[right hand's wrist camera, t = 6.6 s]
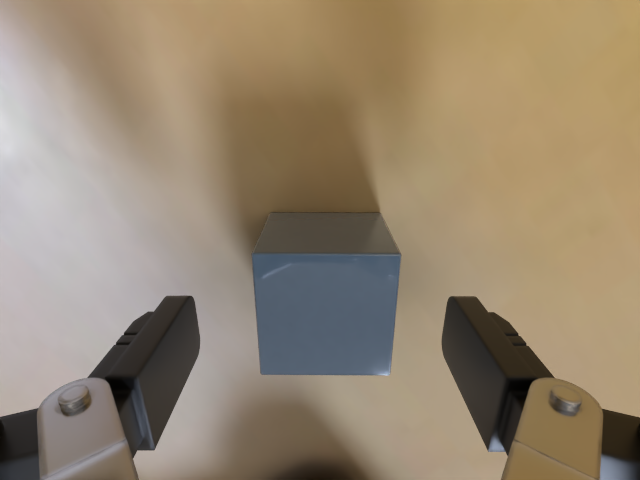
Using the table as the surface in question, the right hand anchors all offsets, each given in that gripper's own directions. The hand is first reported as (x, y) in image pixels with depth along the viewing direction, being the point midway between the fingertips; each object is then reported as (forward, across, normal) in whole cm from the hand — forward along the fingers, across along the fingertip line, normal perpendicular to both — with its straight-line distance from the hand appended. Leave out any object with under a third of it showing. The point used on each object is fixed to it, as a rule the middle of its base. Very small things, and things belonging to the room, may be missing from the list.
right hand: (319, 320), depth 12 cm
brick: (+4, 0, 0) cm, 4 cm away
